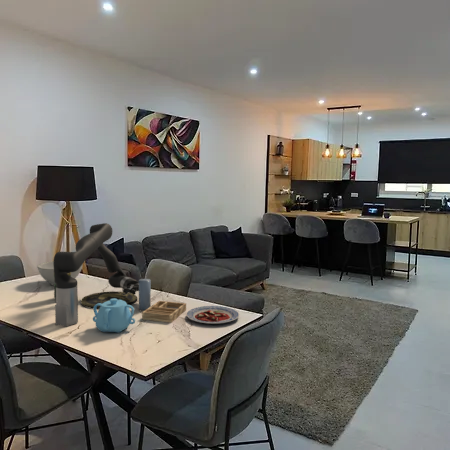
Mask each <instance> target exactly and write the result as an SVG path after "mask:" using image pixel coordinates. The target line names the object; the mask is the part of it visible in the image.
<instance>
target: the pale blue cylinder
mask: <svg viewBox="0 0 450 450" xmlns="http://www.w3.org/2000/svg"><path fill="white" fill-rule="evenodd" d="M151 281H152V280H151V279H150V278H140V279H138V283H139V291H138V309H139V310H140V311H145V310H146V309H148V308H149V307H151V306H152V305H151V304H152V301H151V299H152V297H151V296H152V295H151V291H152V289H151V287H152V286H151V285H152V283H151Z"/></svg>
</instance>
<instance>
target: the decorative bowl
mask: <svg viewBox="0 0 450 450" xmlns="http://www.w3.org/2000/svg"><path fill="white" fill-rule="evenodd" d="M53 262H54V260H53V261H47V262H42V263H39V264H37V266H36V269H37V270H38V273H39V274H40V276H41V277H42V279H44V280H45V281H46V282H48V283H50V285H52V286H54V265H53ZM83 265H84V263H83V264H82V266H81V267H80V268H79V269H78V270H77V271H75V272H71V277H72V278H75V279H76V278H78V276H79V274H80V273H81V271H82V268H83Z"/></svg>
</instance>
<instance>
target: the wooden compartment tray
mask: <svg viewBox="0 0 450 450" xmlns="http://www.w3.org/2000/svg"><path fill="white" fill-rule="evenodd" d="M186 311H187V303H185V302H176V301H168V300H166V301H164V300H158V301H157V302H156V303H154V304H153V305H151V307H149V308H148V309H146V310H142V312H141V313H142V314H141V315H142V316H141V317H142V318H141V319H142V320H145V321H155V322H163V323H170V324H171V323H174V321H175V320H177V318H179V317H180V316H181V315H182V314H183V313H185V312H186Z"/></svg>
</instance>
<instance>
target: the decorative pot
mask: <svg viewBox="0 0 450 450" xmlns="http://www.w3.org/2000/svg"><path fill="white" fill-rule="evenodd" d="M97 306H101V307H100V309H96V307H97ZM92 309H93V313H94V316H93V317H92V321H93V322H94V323H95V327H96V328H97V329H98V330H99V331H100V332H102V333H103V332H104V333H106V332H111V333H114V332H115V333H122V331H123V330H126V329H127V328H128V327H129V326H130V325H134V324H135V323H136V319H135V318H133V317H134V313H135V308H134V306H133V305H127V303H126V302H125V301H122V300H117V299H115V298H114V299H110V301H106V302H104V303H103V304H101V303H98V304H96V305H95V306H94V308H92Z"/></svg>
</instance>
